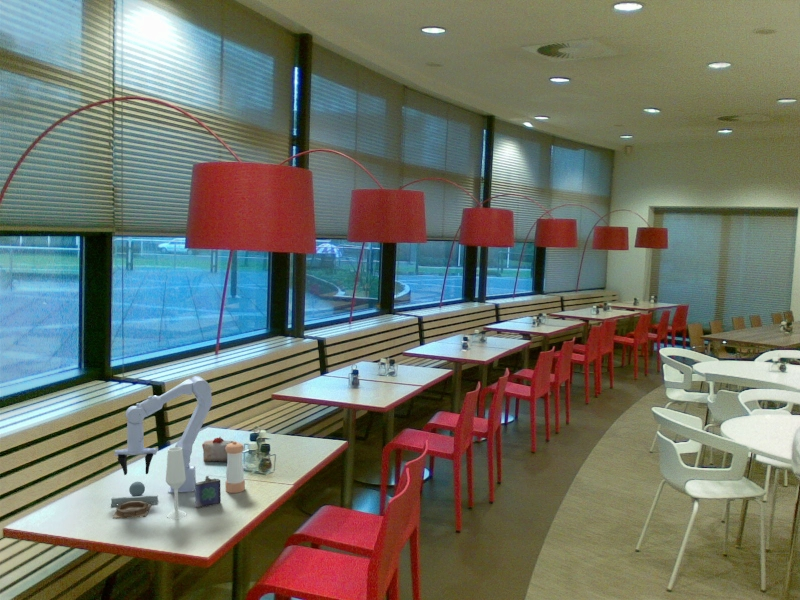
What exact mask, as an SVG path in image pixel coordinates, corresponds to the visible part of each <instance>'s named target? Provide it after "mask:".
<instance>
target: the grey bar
mask: <svg viewBox="0 0 800 600" xmlns="http://www.w3.org/2000/svg"><path fill="white" fill-rule="evenodd" d="M129 501H143V502H146V503H148V504H151V505H156V504H157V505H158V503H157V502H159V495H157V494H155V495H141V496H120V497H112V498H111V503H110V507H111V506H112V507H116V506H118V505H120V504H123V503H126V502H129ZM116 504H118V505H116Z"/></svg>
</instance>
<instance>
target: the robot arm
mask: <svg viewBox="0 0 800 600" xmlns="http://www.w3.org/2000/svg"><path fill="white" fill-rule="evenodd" d="M212 390H213V389H212V387H211V386H210V384H209V382H208V381H207V380H205V379H204V378H203V377H202V376H199V375H194V376H192V377H190V378H187V379H185V380H184V381H183V382H181V383H179V384H177V385H175V386H174V387H172V388H171V389H170V390H168V391H166V392H164V393H162V394H161V395H149V396H147V398H146V399H144V400H143V401H142V402H137V403H136V404H135V405H131V406H130V407H128V408H127V409H126V411H125V417H126V419H127V421H126V422H127V423H126V425H127V426H126V439H127V440H126V442H127V445H126V446H127V448H124V449H116V450H114V457H117V461H118V462H119V464H120V466H121V468H122V472H123V475H124V476H127V474H128V456H141V455H142V456H143V455H145V456H144V459H145V460H144V461H145V475H148V474H149V472H150V471H149V470H150V466H151V463H152V460H153V457H154V456H155V455H157V447H156V448H155V447H152V448H151V447H145V446H144V445H145V441H144V422H143V421H144V420H145V418H147V417H149V416H151V415H152V414H155V413H156V412H158V411H160V410H162V409H163V406H164V404H166V403H168V402H170V401H172V400H174V399H176V398H179V397H180V396H183V395H186V396H187V395H188V396H193V395H194V398H195V399H196V401H197V404H196V406H195V408H194V410H193V412H192V414H191V417H190V419H189V420H188V423H187V425H186V426H185V429H184V431H183V433H182V435H181V437H180V439H179V440H178V441H177V442H176V444H175V446H174V447H181V448H182V451H183V460H184V468H185V476H186V480H185V482H184V483H183V485H182V486H181V487H180V488H178V493H190V492H195V484H196V483H197V477H196V466H195V465H191V464H190V463H191V455H192V453H193V445H194V444H195V441H196V439H197V436H198V435H199V433H200V431H201V429H202V426H203V424H204V422H205V420H206V418H207V416H208V413H209V411H210V410H211V407H212V405H213V398H212ZM167 493H170V494H172V493H173V494H174V489H173V488H172V487H170V486H169V489H168V492H167Z"/></svg>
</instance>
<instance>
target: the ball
mask: <svg viewBox="0 0 800 600" xmlns="http://www.w3.org/2000/svg"><path fill="white" fill-rule="evenodd" d="M145 487H146V486H145V484H144V483H143V482H142V481H135V482H134V481H133V482H132V484H130V486H129V490H128V491H129V493H130V495H131V497H135V496H143V494H144V493H145Z"/></svg>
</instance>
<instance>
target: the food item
mask: <svg viewBox="0 0 800 600" xmlns="http://www.w3.org/2000/svg"><path fill="white" fill-rule="evenodd" d="M233 441H234V440H224V439H223V438H222V437H221V436H219V437H215V438H214V439H213V440H205V441H204V442H202V445H201V448H202V451H203V462H225V463H226V462H227V452H226V450H225V447H226V446H227V445H228V444H230V443H232V442H233Z"/></svg>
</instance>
